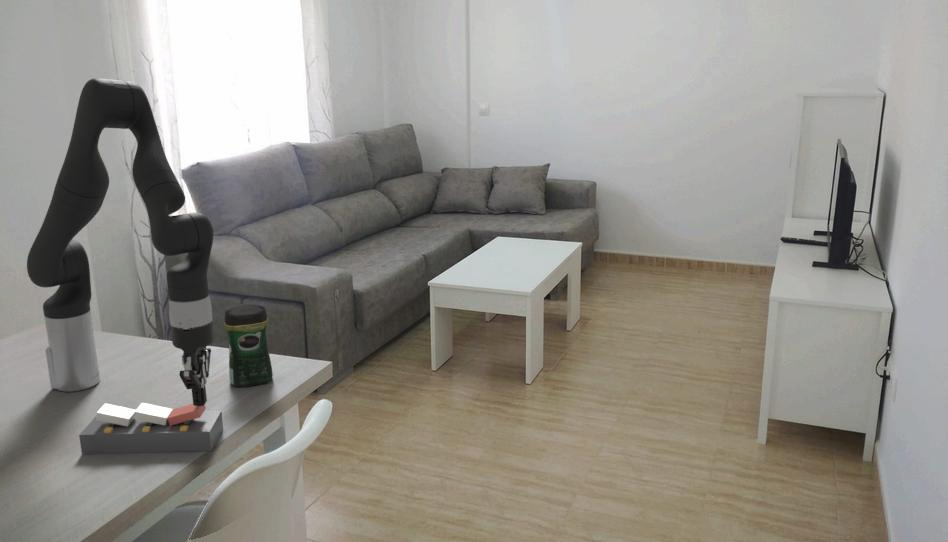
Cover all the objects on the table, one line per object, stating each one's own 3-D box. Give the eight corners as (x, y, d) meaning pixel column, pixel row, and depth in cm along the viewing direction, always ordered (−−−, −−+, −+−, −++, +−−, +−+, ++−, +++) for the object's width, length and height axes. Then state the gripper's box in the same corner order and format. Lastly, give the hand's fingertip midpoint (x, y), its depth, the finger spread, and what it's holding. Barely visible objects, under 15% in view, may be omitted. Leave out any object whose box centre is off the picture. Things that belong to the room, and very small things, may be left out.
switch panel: (82, 454, 147) (78, 430, 146) (101, 431, 156) (97, 408, 154) (211, 450, 148) (209, 427, 147) (223, 428, 157) (221, 406, 156)
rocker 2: (133, 419, 148) (134, 411, 148) (140, 409, 152) (141, 402, 152) (165, 425, 149) (166, 418, 149) (171, 416, 153) (173, 409, 152)
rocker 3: (170, 425, 149) (167, 418, 149) (176, 416, 153) (173, 409, 152) (200, 417, 149) (197, 410, 149) (205, 408, 153) (202, 401, 152)
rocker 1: (95, 419, 148) (96, 412, 147) (103, 410, 152) (105, 403, 151) (127, 426, 149) (129, 419, 148) (135, 417, 152) (136, 409, 152)
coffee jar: (270, 371, 185) (265, 296, 180) (274, 384, 178) (269, 307, 173) (228, 376, 182) (221, 301, 177) (230, 390, 175) (223, 312, 170)
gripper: (181, 308, 152) (190, 390, 157) (159, 332, 139) (169, 420, 144) (220, 308, 152) (228, 389, 157) (202, 331, 140) (210, 419, 144)
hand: (200, 404), depth 150 cm, fingers closed
